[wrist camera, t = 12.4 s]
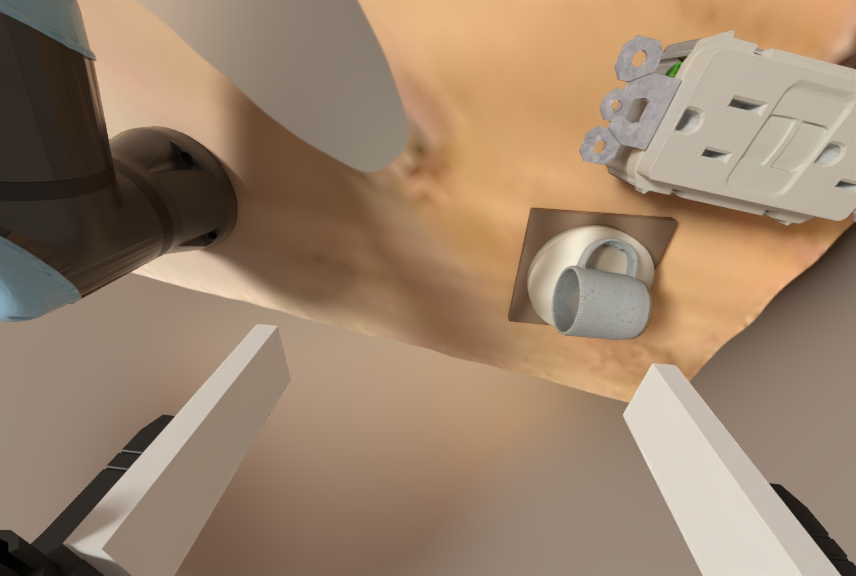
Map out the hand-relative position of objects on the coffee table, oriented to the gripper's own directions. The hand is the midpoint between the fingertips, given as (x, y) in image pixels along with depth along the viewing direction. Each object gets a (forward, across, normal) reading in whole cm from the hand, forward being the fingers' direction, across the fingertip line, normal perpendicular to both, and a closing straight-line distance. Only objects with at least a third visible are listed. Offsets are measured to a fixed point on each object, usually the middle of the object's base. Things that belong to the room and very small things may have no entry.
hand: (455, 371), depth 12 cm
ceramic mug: (+26, +16, -9) cm, 33 cm away
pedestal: (+30, +17, -10) cm, 36 cm away
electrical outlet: (+30, +24, +6) cm, 39 cm away
